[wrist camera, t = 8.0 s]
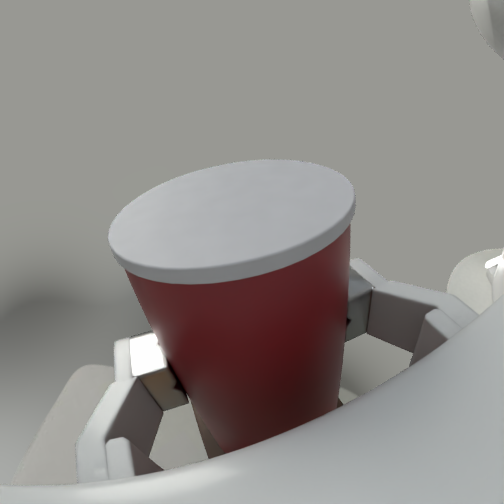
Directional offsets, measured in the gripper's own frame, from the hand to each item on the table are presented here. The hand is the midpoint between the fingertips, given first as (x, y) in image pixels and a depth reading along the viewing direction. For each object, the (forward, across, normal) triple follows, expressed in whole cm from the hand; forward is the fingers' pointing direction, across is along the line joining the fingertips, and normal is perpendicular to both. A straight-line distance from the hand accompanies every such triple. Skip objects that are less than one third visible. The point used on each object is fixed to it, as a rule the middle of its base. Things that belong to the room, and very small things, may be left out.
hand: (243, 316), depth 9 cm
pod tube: (-1, 0, +5) cm, 5 cm away
